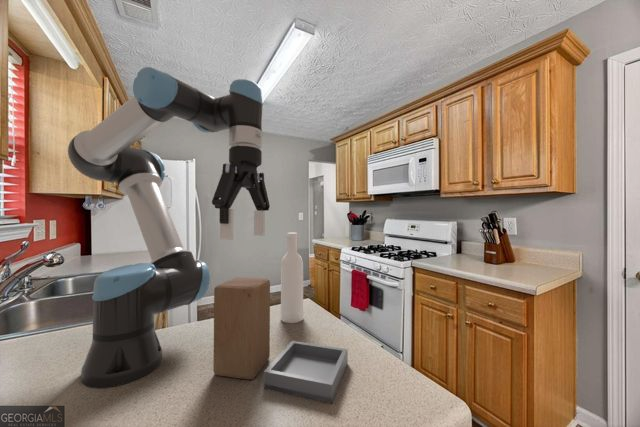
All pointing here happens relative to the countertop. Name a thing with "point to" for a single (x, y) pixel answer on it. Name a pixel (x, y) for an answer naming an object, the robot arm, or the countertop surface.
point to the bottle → (292, 282)
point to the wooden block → (241, 327)
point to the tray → (307, 371)
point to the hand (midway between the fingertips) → (244, 237)
